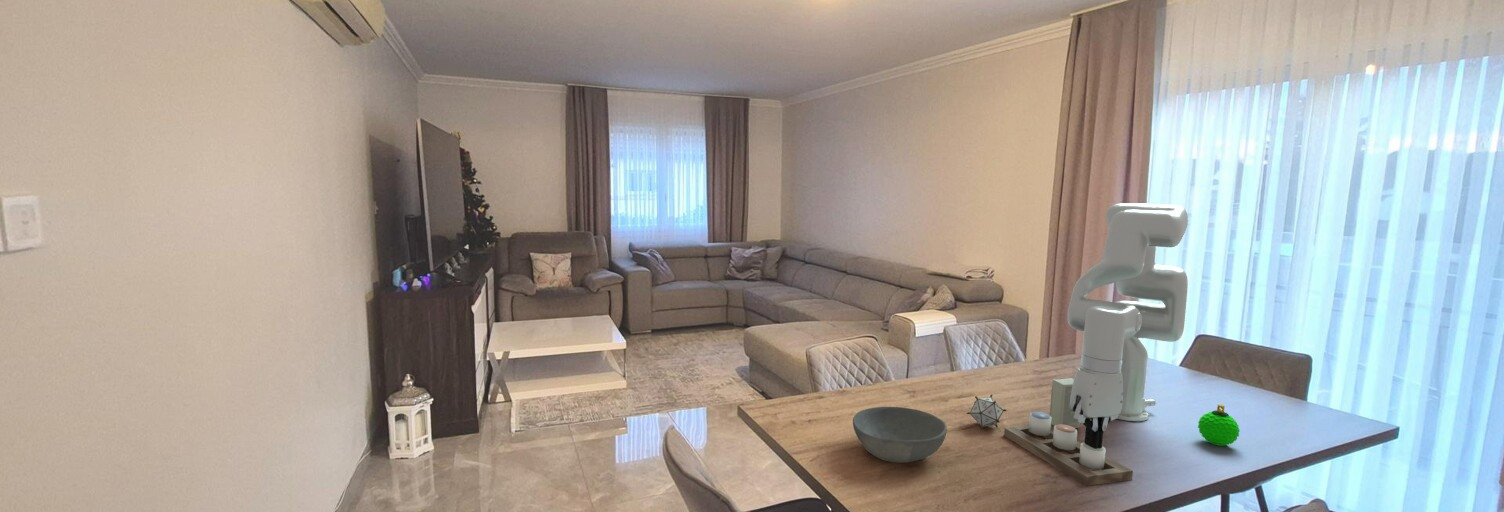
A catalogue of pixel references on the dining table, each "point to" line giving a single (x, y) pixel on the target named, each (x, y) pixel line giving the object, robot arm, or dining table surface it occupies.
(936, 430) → the bowl
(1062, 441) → the small jar
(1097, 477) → the rack with square compartments
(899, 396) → the dining table surface
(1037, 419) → the small jar
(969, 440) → the dining table surface
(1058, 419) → the skincare box
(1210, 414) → the ornament
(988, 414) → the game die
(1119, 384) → the robot arm
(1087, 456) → the white round cylinder
